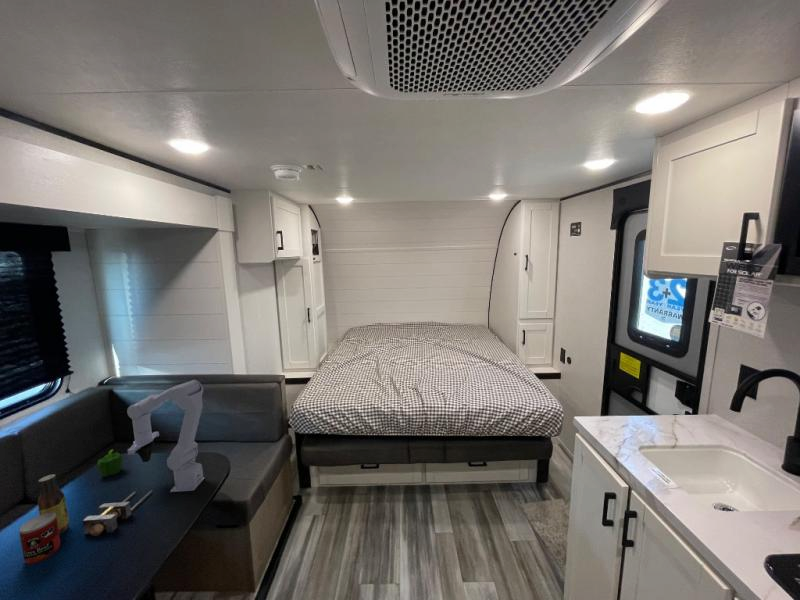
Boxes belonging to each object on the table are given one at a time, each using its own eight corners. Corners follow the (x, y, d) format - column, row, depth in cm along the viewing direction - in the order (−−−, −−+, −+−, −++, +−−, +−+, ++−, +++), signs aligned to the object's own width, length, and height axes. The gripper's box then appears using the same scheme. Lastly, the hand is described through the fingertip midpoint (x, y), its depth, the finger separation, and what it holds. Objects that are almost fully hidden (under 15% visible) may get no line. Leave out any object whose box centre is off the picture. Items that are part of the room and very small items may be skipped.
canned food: (18, 569, 96) (12, 535, 95) (33, 549, 103) (28, 517, 102) (53, 558, 100) (48, 525, 99) (65, 539, 107) (60, 508, 106)
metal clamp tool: (155, 492, 129) (154, 480, 128) (112, 532, 109) (110, 518, 108) (131, 493, 128) (130, 482, 128) (84, 534, 108) (82, 520, 108)
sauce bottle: (73, 527, 112) (66, 473, 110) (49, 541, 106) (40, 485, 104) (62, 523, 114) (55, 470, 112) (38, 536, 108) (29, 481, 107)
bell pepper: (112, 479, 139) (109, 457, 138) (94, 479, 139) (91, 457, 138) (129, 467, 147) (126, 446, 146) (111, 467, 147) (109, 447, 146)
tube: (115, 513, 117) (115, 505, 117) (125, 513, 117) (124, 505, 117) (90, 536, 107) (89, 526, 107) (100, 536, 107) (100, 526, 107)
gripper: (146, 422, 141) (149, 452, 142) (118, 439, 126) (122, 472, 127) (162, 421, 141) (165, 450, 142) (136, 438, 126) (140, 471, 127)
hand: (146, 461), depth 135 cm, fingers closed
